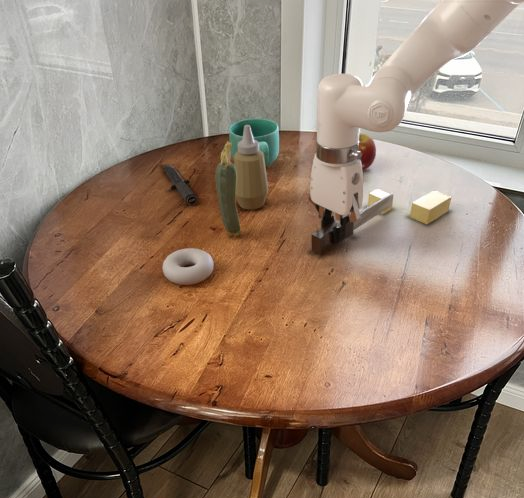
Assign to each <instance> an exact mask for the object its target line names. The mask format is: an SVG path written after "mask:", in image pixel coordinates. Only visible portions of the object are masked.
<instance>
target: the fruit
mask: <svg viewBox="0 0 524 498" xmlns="http://www.w3.org/2000/svg"><path fill="white" fill-rule="evenodd" d="M376 146H377V145H376V143H375V140H374V139H373V138H372V137H371V136H370V135H368V134H366V133H361V132H359V146H358V151H359V152H361V153H362V156H361V158H360V160H361V164H362V171H365V170H367V169H368V168H370V167H371V166H372V164H373V163H374V162H375V159H376V155H377V147H376Z"/></svg>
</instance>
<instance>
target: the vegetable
mask: <svg viewBox="0 0 524 498" xmlns="http://www.w3.org/2000/svg"><path fill="white" fill-rule="evenodd" d="M231 147H232V143H231V142H230V140H227V141H226V143H225V144H224V146H223V148H222V151H221V153H220V162H219V163H217V166H216V169H215V173H214V174H215V188H216V194H217V202H218V206H219V211H220V217H221V221H222V224H223V226H224V229H225V230H226V232H228V233H229V234H231V235H233V236H236V237H239V235H240V234H241V233H242V232H241V222H240V218H239V213H238V212H239V211H238V208H237V204H236V196H235V192H236V182H237V171H236V167H235V165H234V162H232V161H230V160H231V158H232V155H231V149H230V148H231Z"/></svg>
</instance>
